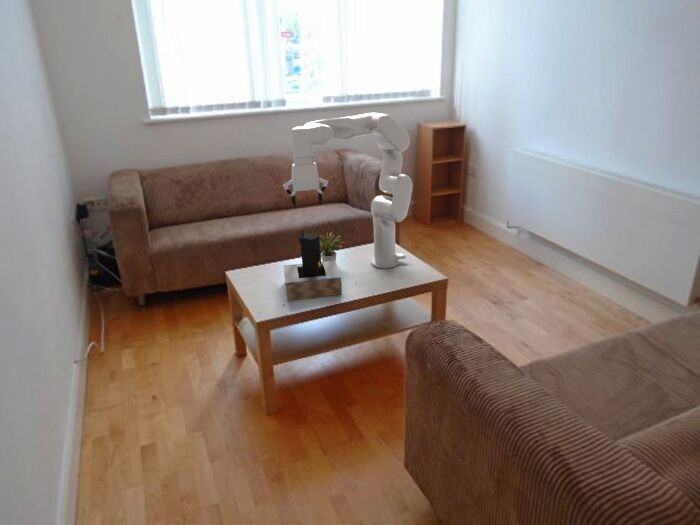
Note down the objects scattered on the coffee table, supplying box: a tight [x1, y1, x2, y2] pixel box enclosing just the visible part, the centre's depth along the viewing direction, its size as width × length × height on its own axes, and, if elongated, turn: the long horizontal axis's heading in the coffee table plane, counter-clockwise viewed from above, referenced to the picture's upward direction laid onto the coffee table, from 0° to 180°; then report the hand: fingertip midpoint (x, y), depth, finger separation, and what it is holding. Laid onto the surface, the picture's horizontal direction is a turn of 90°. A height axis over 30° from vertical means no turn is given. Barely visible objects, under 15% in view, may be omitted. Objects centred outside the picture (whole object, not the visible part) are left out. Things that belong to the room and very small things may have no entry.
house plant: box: [320, 231, 346, 263], centre depth 233 cm, size 14×14×16 cm
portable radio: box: [298, 229, 322, 278], centre depth 211 cm, size 8×6×25 cm
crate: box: [283, 260, 343, 302], centre depth 214 cm, size 22×18×8 cm
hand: (307, 204), depth 202 cm, fingers open, 9 cm apart
